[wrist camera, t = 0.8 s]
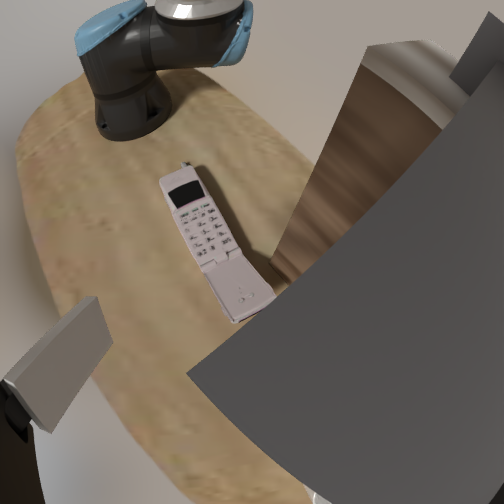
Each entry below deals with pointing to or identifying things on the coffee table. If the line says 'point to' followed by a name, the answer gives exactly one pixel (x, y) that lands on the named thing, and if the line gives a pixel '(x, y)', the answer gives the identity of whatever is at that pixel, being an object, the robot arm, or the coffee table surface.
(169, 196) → the mobile phone
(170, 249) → the coffee table surface
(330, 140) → the brown wooden tall block
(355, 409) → the gray block
